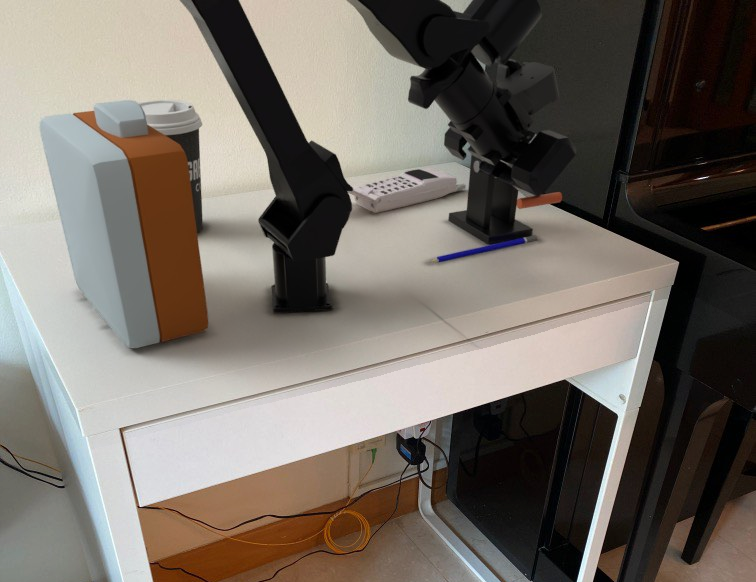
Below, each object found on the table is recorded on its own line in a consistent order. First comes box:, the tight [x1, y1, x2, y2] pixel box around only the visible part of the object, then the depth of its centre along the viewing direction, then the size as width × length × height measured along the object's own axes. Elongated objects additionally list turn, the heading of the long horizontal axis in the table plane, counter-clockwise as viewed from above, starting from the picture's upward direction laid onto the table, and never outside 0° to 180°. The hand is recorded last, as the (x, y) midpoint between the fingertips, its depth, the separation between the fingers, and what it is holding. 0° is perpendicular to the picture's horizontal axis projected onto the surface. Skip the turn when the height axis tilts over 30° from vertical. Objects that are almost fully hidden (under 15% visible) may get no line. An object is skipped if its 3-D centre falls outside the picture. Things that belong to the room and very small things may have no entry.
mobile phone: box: [347, 167, 467, 214], centre depth 113 cm, size 6×6×25 cm
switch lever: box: [495, 177, 563, 210], centre depth 99 cm, size 12×6×2 cm, turn 27°
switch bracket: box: [448, 153, 534, 246], centre depth 104 cm, size 10×7×10 cm
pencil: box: [429, 235, 538, 263], centre depth 101 cm, size 17×1×1 cm, turn 121°
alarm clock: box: [39, 99, 209, 349], centre depth 79 cm, size 18×9×21 cm, turn 33°
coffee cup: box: [137, 99, 204, 235], centre depth 101 cm, size 10×10×15 cm
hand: (540, 192), depth 96 cm, fingers closed
